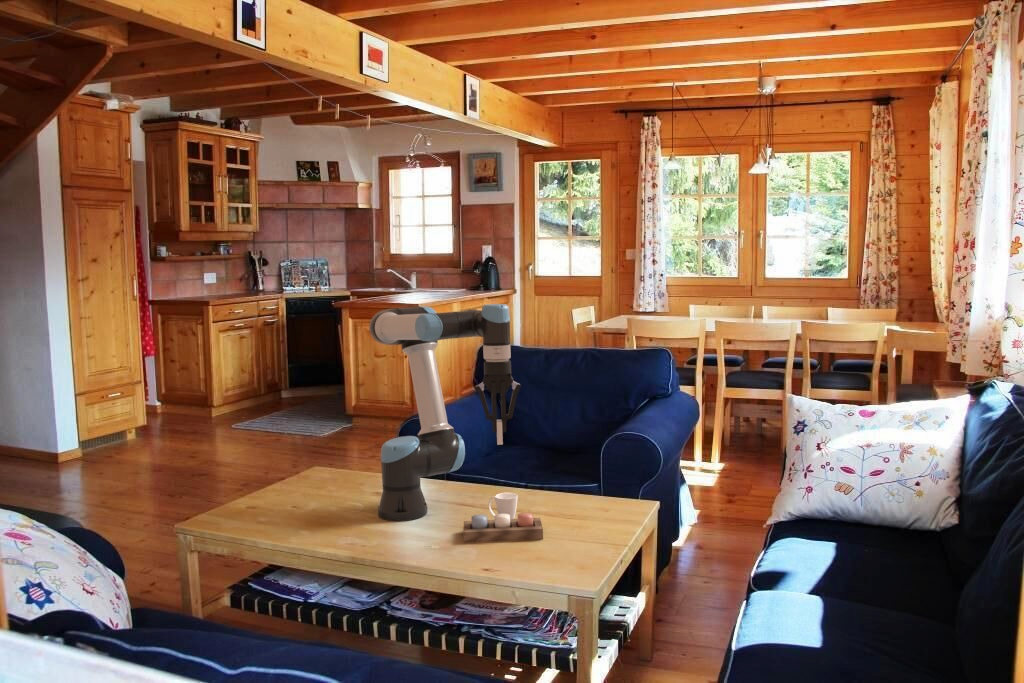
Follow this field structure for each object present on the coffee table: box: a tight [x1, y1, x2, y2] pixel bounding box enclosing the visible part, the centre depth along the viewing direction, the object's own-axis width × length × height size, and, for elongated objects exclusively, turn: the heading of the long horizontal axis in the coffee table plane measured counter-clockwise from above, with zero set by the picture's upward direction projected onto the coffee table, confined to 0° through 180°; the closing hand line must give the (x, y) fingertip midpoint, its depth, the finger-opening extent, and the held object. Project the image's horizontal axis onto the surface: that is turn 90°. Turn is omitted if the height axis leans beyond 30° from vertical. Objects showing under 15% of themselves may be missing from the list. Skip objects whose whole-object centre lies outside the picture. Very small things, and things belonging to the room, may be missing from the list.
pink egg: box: [517, 512, 534, 527], centre depth 246 cm, size 4×4×4 cm
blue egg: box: [470, 514, 488, 529], centre depth 245 cm, size 4×4×4 cm
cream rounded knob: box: [494, 513, 510, 528], centre depth 246 cm, size 4×4×4 cm
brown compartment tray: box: [463, 517, 544, 544], centre depth 246 cm, size 22×10×3 cm, turn 93°
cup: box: [488, 492, 519, 519], centre depth 258 cm, size 7×10×8 cm
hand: (499, 443), depth 243 cm, fingers closed
